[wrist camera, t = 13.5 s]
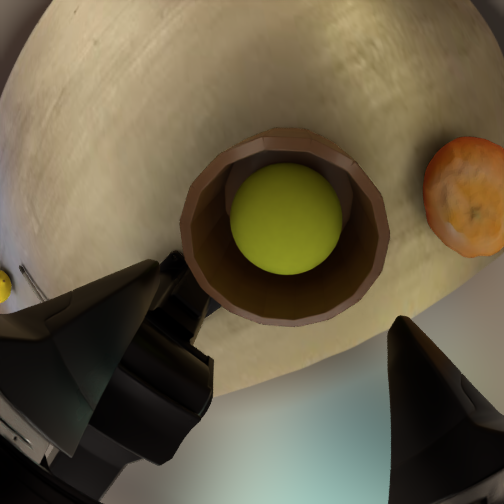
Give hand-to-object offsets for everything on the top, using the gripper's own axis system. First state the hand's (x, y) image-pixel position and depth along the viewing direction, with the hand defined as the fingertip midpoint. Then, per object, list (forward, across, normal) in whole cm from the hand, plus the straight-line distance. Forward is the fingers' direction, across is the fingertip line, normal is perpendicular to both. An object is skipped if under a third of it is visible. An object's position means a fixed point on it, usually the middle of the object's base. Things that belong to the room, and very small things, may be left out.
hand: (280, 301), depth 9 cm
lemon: (+12, +42, +20) cm, 47 cm away
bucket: (+12, 0, 0) cm, 12 cm away
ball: (+8, 0, 0) cm, 8 cm away
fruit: (+12, -12, -5) cm, 18 cm away
